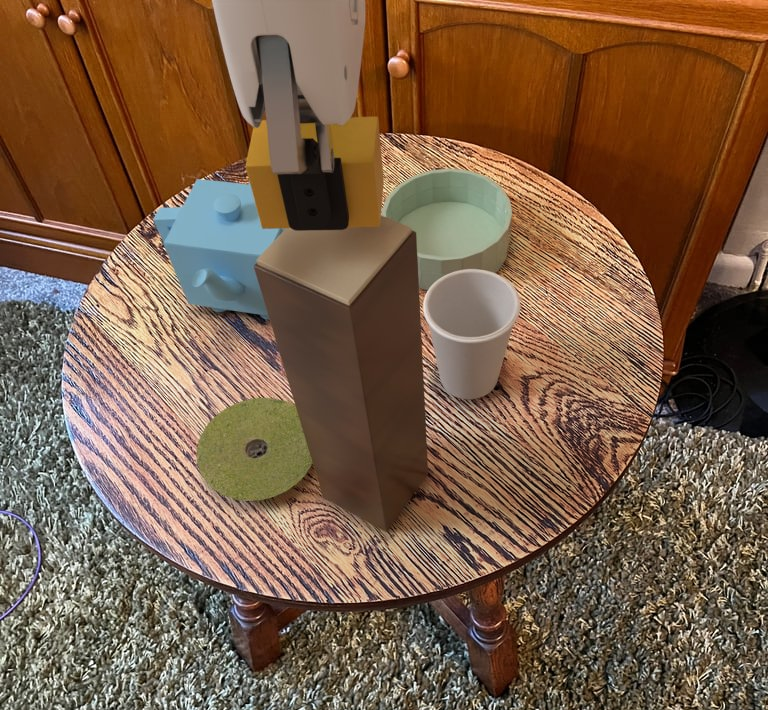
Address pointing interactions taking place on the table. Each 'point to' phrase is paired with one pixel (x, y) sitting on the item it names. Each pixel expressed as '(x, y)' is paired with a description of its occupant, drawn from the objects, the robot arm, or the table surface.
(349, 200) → the yellow rectangular block
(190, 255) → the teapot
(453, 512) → the table surface
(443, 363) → the dixie cup
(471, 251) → the bowl
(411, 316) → the stand
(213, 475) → the mat
